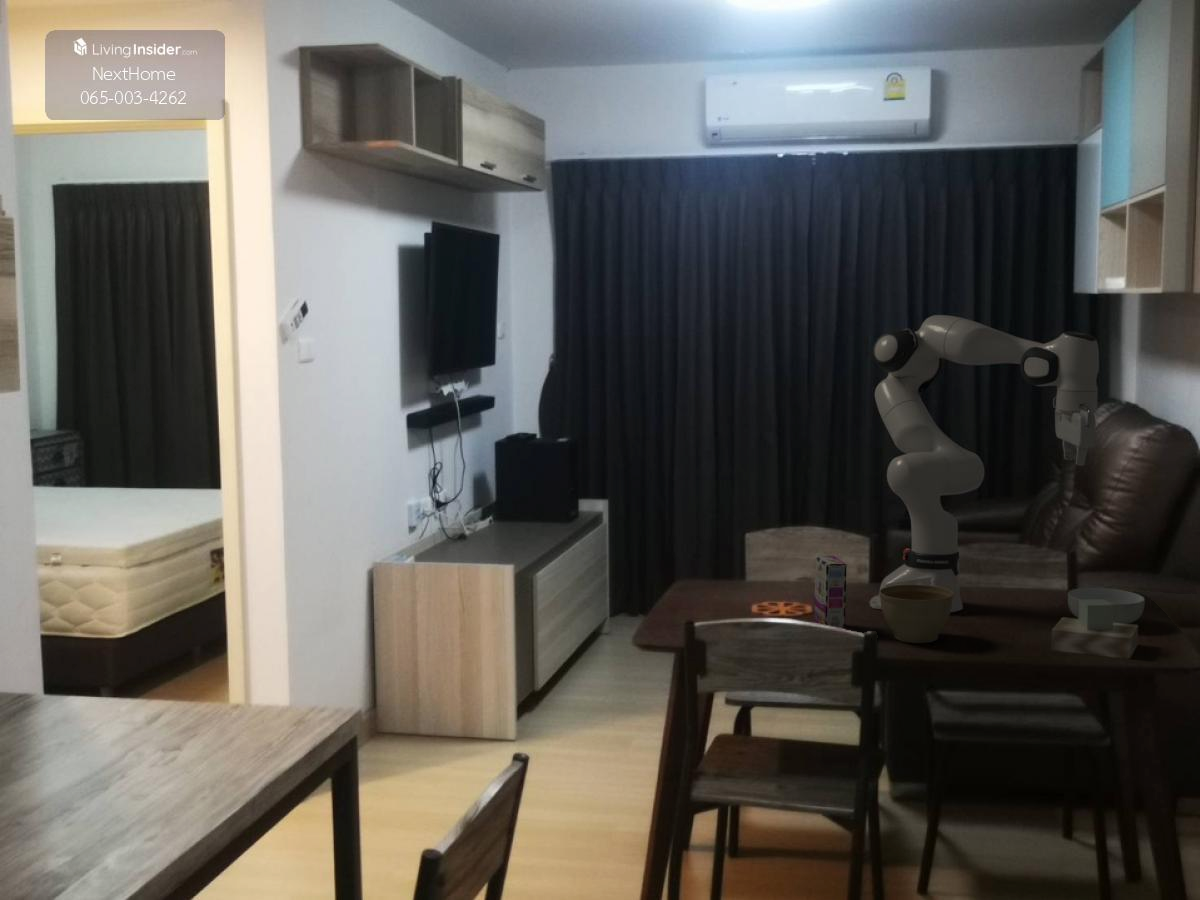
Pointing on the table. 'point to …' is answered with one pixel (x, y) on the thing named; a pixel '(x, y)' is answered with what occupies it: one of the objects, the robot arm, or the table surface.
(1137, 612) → the cereal bowl
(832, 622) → the candy bar box
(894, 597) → the planter bowl
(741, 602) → the table surface
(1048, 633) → the table surface
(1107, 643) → the birch riser
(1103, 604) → the sage block
